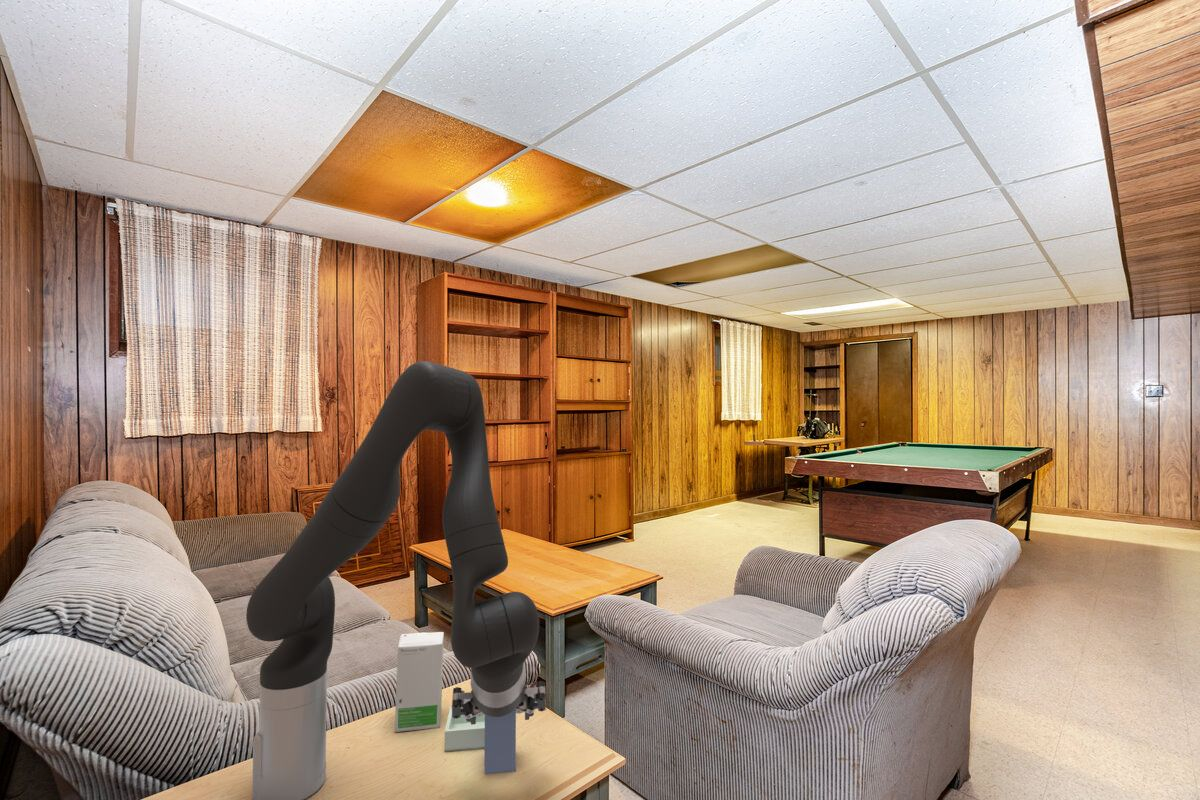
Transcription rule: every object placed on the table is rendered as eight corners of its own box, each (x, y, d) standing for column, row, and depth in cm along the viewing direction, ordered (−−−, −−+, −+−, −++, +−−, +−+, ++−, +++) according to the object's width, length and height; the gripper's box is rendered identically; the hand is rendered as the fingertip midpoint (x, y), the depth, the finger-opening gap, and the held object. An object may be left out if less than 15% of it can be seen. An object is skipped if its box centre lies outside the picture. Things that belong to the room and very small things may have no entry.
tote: (444, 752, 94) (444, 731, 94) (450, 723, 103) (450, 705, 103) (501, 746, 96) (501, 726, 96) (502, 719, 104) (502, 700, 104)
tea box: (484, 774, 89) (484, 699, 89) (485, 755, 94) (486, 684, 94) (515, 771, 89) (516, 697, 90) (515, 752, 94) (516, 682, 95)
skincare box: (394, 733, 100) (394, 647, 100) (398, 714, 106) (399, 633, 106) (441, 727, 102) (442, 643, 102) (443, 708, 108) (443, 629, 108)
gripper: (547, 648, 82) (543, 687, 93) (449, 654, 79) (457, 694, 90) (549, 702, 76) (545, 737, 87) (444, 711, 74) (453, 745, 85)
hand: (500, 715), depth 89 cm, fingers open, 8 cm apart
